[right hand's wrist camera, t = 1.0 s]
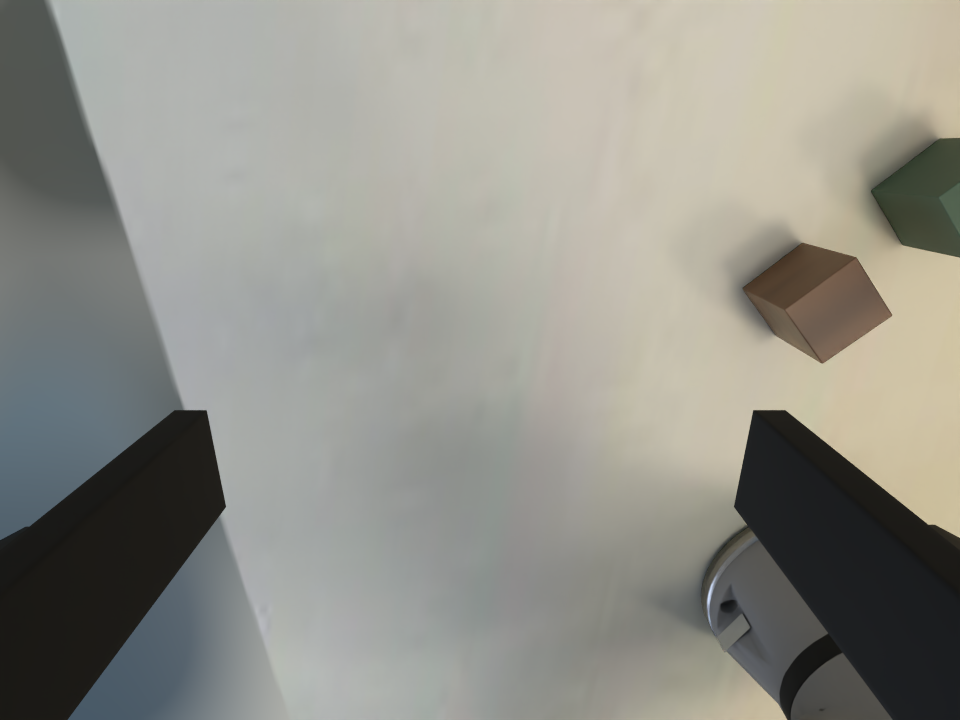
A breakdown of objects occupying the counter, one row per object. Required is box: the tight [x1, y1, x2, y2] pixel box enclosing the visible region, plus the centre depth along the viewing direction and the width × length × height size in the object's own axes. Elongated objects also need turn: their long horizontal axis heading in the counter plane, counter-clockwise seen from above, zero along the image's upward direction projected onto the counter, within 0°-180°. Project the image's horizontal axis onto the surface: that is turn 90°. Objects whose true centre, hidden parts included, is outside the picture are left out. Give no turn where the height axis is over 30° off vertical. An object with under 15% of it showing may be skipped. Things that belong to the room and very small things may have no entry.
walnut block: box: [743, 243, 892, 363], centre depth 32 cm, size 4×4×5 cm
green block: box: [872, 138, 960, 257], centre depth 29 cm, size 4×4×5 cm
